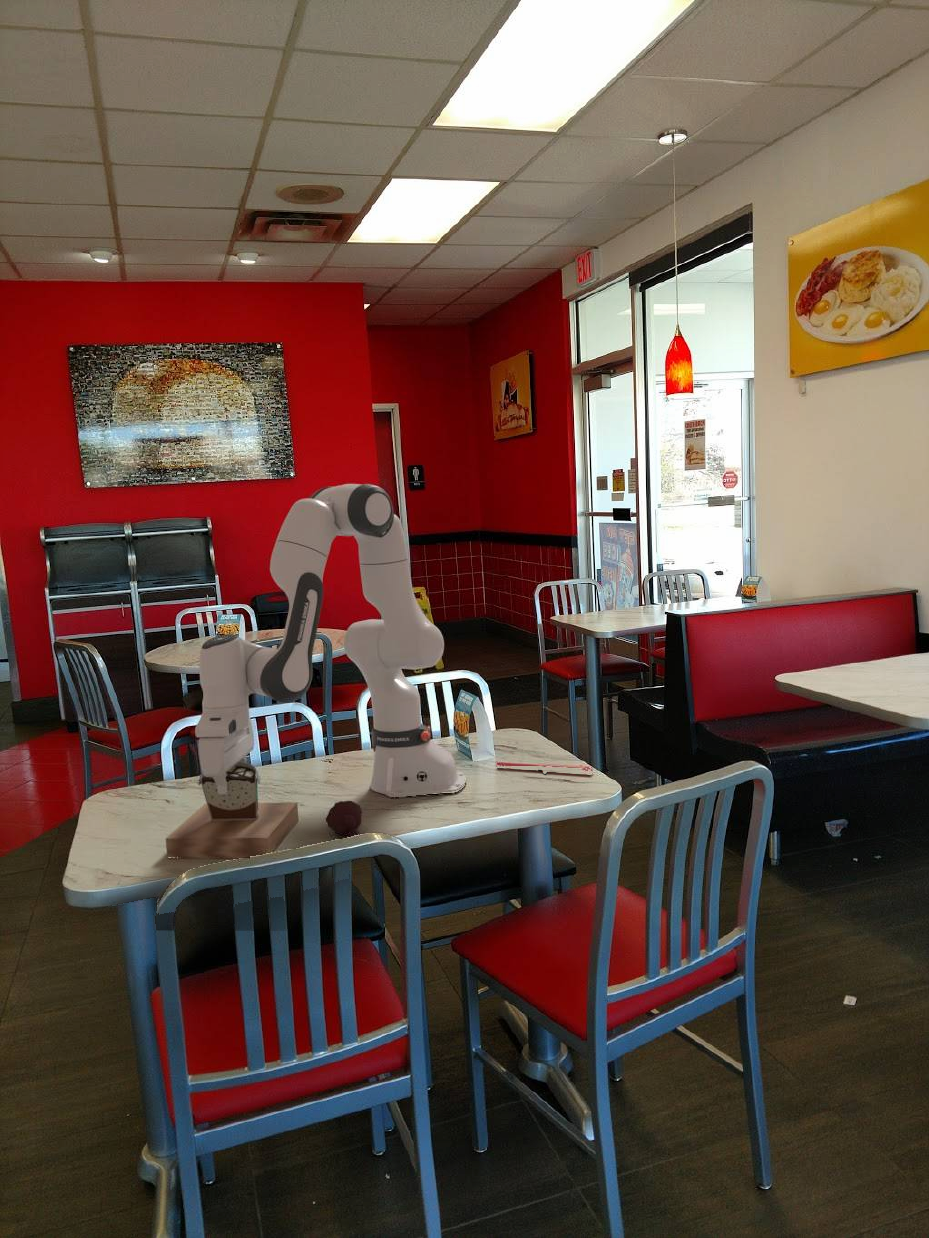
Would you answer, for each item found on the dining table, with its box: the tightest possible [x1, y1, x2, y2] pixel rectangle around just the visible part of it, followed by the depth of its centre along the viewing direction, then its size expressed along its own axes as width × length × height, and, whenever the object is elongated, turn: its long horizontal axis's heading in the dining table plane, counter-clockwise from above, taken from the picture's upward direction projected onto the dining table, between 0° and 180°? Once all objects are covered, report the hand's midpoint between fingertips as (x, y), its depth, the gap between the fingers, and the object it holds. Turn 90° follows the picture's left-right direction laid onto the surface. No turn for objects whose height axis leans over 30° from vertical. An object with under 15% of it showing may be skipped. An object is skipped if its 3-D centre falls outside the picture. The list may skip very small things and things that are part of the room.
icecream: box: [325, 800, 363, 837], centre depth 181 cm, size 7×7×15 cm
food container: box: [198, 762, 261, 821], centre depth 181 cm, size 12×6×10 cm, turn 86°
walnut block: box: [165, 802, 299, 859], centre depth 181 cm, size 20×20×4 cm
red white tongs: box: [495, 761, 594, 772], centre depth 216 cm, size 24×2×5 cm
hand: (232, 785), depth 180 cm, fingers open, 8 cm apart
